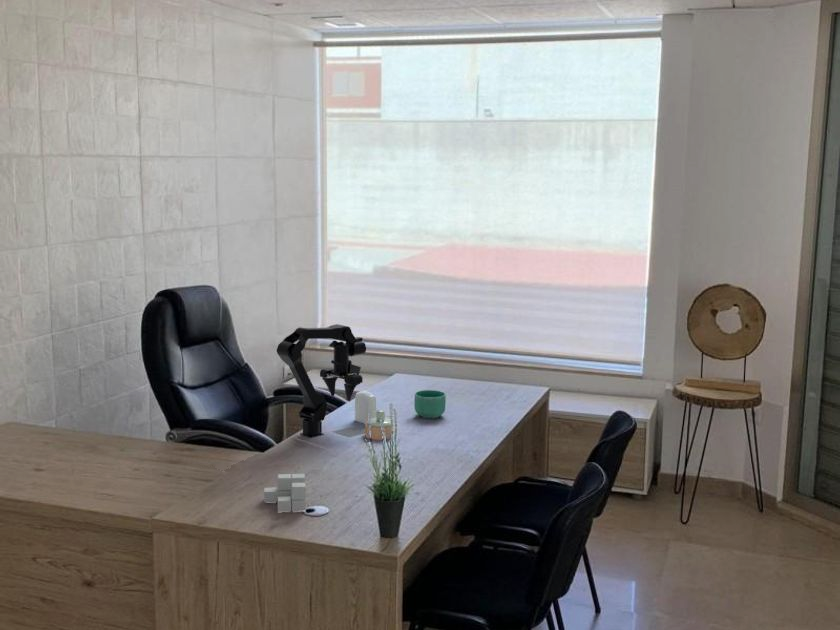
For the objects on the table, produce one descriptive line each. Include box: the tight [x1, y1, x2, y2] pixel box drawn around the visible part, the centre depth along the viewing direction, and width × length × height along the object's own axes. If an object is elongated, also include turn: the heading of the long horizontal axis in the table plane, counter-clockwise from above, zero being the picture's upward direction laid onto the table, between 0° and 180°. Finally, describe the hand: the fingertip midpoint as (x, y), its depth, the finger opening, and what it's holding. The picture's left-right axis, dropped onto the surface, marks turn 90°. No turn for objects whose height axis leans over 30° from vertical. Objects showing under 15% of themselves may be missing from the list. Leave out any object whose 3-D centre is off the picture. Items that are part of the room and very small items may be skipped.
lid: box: [367, 409, 391, 427], centre depth 353 cm, size 10×10×5 cm
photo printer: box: [354, 390, 377, 425], centre depth 371 cm, size 10×4×12 cm, turn 39°
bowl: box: [364, 422, 397, 441], centre depth 353 cm, size 11×11×5 cm
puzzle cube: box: [263, 473, 307, 512], centre depth 279 cm, size 12×12×8 cm
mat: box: [331, 426, 365, 438], centre depth 358 cm, size 10×10×1 cm
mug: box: [413, 389, 447, 420], centre depth 385 cm, size 17×13×10 cm
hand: (340, 398), depth 361 cm, fingers open, 9 cm apart
